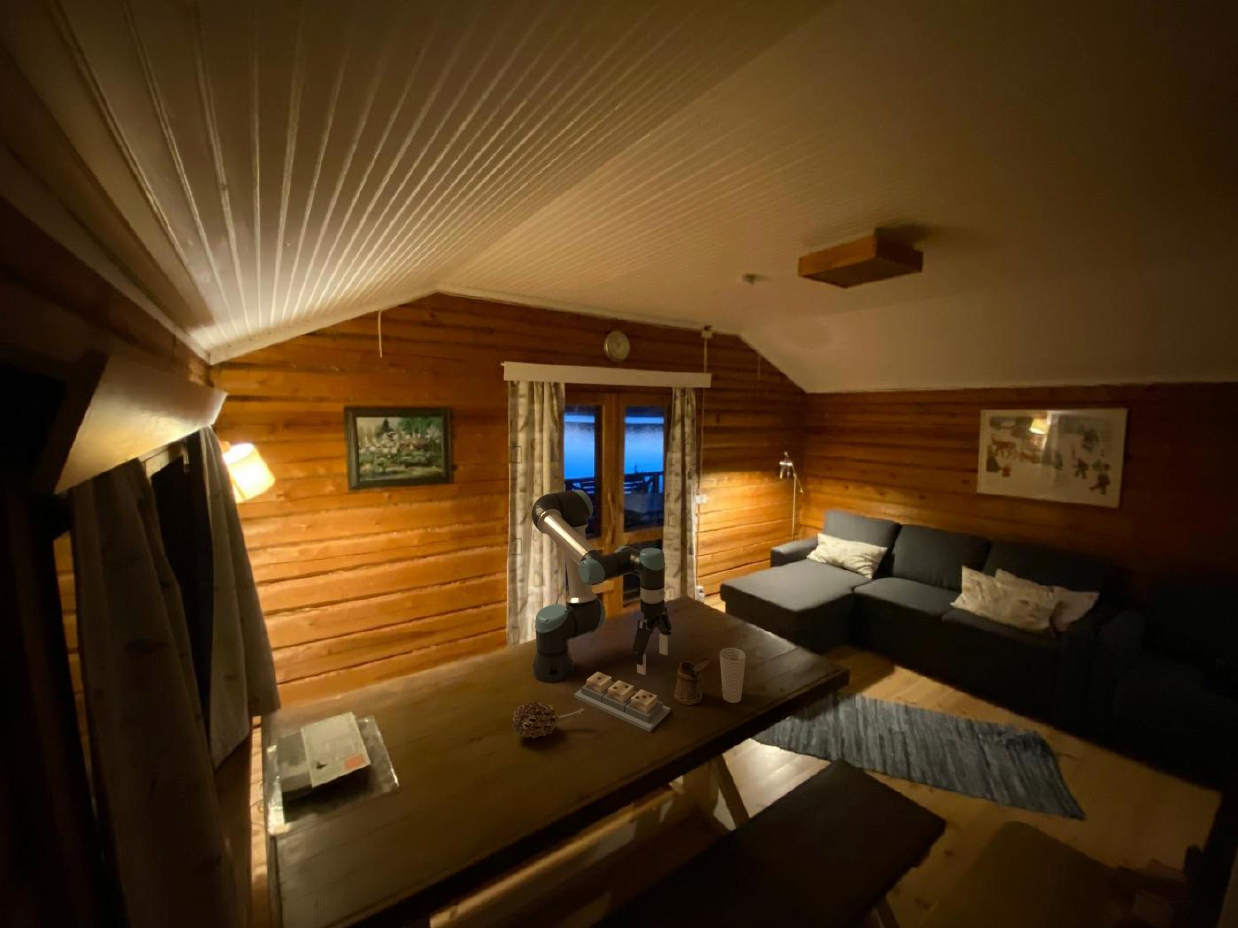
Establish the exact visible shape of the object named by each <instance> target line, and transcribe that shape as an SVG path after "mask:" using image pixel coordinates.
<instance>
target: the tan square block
mask: <svg viewBox="0 0 1238 928" xmlns="http://www.w3.org/2000/svg"><path fill="white" fill-rule="evenodd" d="M612 682H613V679H612V676H610V675H607V674H605V673H602V672H600V671H596V672H595V673H594V674H593V675H591V676H589V677H588V678H587V679H586V683H585V684H587V688H589V689H591V690H593V691H596V692H598V693H600V694H601V693H603V692H604V691H605V690H606V689H608V688H609V687H610V686H611V685H612Z"/></svg>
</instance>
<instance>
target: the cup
mask: <svg viewBox="0 0 1238 928" xmlns="http://www.w3.org/2000/svg"><path fill="white" fill-rule="evenodd" d="M719 662H720V675H721V690H722V692H721V693H722V698H723V700H724V701H726V702H728V703H732V704H735V703H739V702H740V701H741V700H742V695H743V686H744V679H745V678H744V677H745V669H746V662H747V654H746V652H745V651H743V650H742V649H740V648H736V647H725V648H722V649H721V650H720V651H719Z"/></svg>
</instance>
